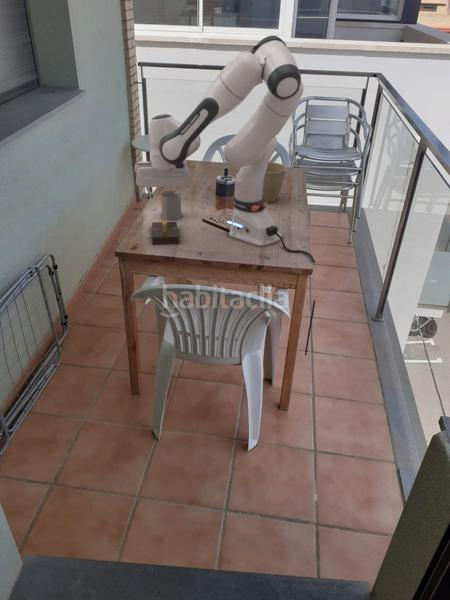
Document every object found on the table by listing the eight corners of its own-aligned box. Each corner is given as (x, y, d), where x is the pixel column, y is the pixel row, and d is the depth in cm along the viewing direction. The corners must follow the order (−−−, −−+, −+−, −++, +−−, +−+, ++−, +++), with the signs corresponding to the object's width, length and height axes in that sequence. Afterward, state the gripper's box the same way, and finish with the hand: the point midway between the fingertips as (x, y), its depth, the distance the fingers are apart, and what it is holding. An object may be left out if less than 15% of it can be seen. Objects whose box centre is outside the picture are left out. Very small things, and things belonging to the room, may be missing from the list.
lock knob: (166, 231, 184) (166, 223, 182) (163, 231, 183) (162, 223, 182) (166, 226, 188) (165, 218, 186) (162, 226, 188) (162, 218, 186)
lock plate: (178, 243, 182) (178, 236, 180) (152, 244, 181) (152, 237, 179) (176, 228, 194) (176, 221, 192) (152, 229, 192) (151, 222, 191)
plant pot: (267, 208, 213) (270, 174, 204) (245, 199, 222) (246, 165, 213) (289, 201, 222) (293, 167, 213) (267, 192, 231) (269, 159, 222)
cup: (173, 210, 209) (172, 189, 203) (185, 216, 204) (184, 194, 198) (157, 215, 204) (156, 193, 198) (170, 221, 199) (169, 199, 193)
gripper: (133, 164, 168) (136, 200, 175) (191, 163, 171) (191, 199, 178) (134, 158, 173) (136, 194, 181) (189, 158, 176) (189, 193, 183)
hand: (164, 197), depth 180 cm, fingers open, 8 cm apart
